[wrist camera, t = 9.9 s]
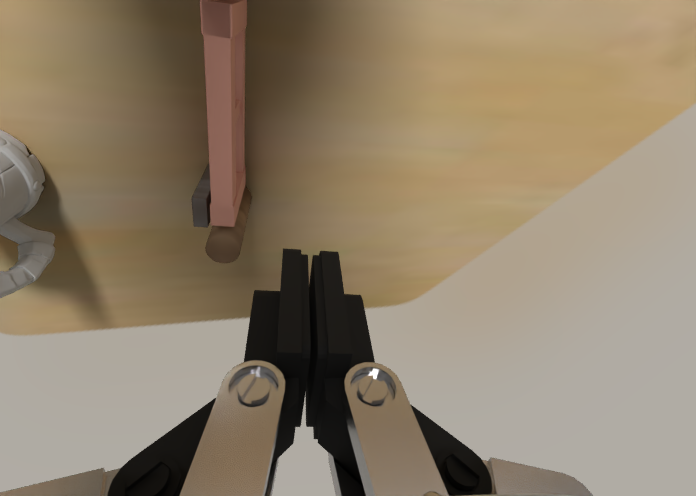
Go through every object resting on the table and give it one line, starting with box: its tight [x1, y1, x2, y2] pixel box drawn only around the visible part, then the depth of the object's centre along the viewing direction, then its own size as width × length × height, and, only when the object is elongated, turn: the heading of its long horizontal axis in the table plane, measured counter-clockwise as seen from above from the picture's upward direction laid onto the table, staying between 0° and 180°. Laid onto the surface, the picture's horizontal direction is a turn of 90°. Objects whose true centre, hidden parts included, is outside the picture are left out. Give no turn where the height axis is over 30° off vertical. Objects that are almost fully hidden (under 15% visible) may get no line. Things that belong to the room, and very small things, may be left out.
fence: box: [192, 164, 252, 263], centre depth 25 cm, size 26×4×8 cm, turn 172°
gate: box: [200, 0, 247, 227], centre depth 27 cm, size 14×2×7 cm, turn 171°
